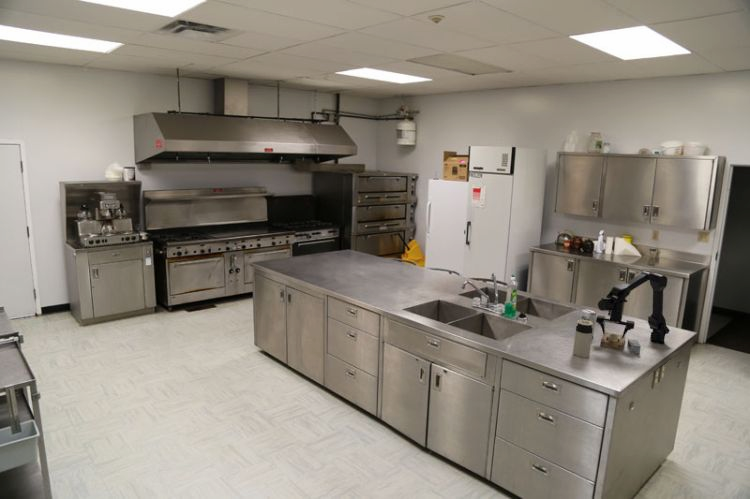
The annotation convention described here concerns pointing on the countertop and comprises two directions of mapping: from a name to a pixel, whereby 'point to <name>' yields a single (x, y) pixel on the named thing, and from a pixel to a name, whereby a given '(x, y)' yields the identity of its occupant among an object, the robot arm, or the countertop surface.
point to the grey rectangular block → (633, 347)
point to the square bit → (613, 337)
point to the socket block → (611, 344)
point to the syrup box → (589, 317)
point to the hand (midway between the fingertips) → (613, 336)
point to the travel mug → (583, 338)
